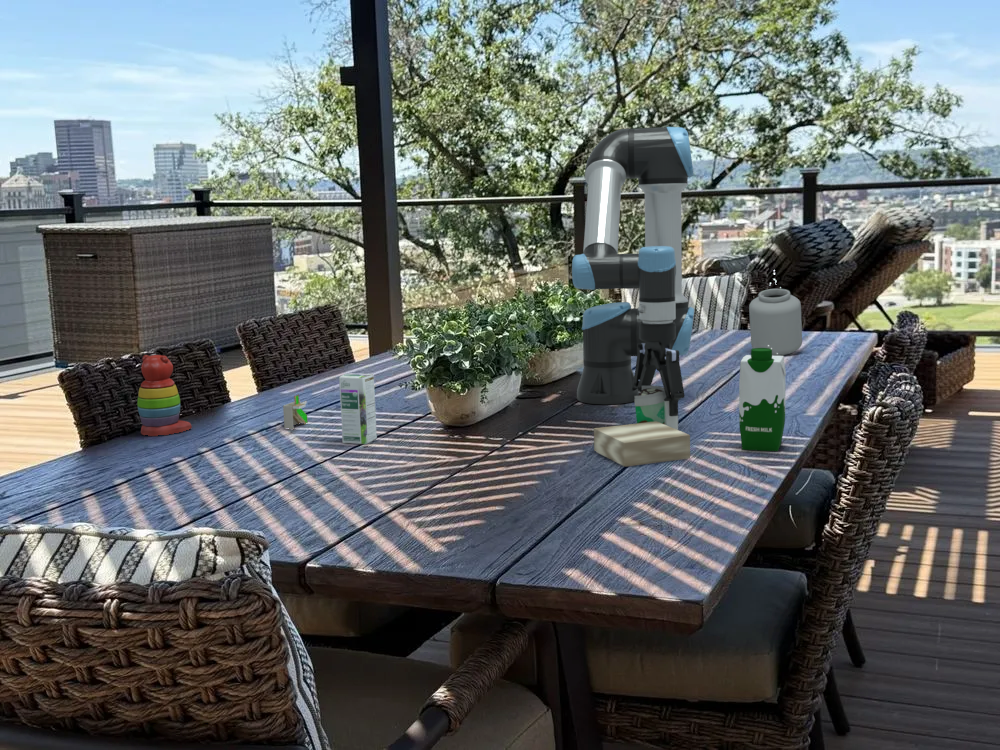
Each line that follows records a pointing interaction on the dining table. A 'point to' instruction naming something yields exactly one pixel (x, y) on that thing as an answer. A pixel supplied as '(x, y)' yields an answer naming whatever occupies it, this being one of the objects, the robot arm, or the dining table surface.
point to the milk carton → (762, 400)
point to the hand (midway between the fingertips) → (658, 426)
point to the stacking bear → (159, 398)
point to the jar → (776, 321)
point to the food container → (650, 404)
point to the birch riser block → (641, 443)
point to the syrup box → (357, 408)
